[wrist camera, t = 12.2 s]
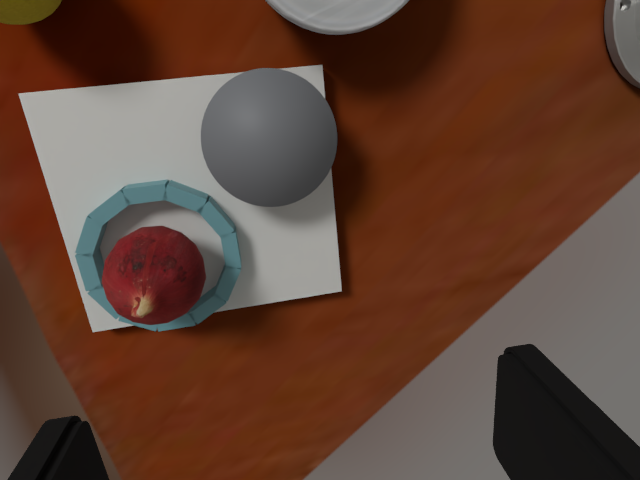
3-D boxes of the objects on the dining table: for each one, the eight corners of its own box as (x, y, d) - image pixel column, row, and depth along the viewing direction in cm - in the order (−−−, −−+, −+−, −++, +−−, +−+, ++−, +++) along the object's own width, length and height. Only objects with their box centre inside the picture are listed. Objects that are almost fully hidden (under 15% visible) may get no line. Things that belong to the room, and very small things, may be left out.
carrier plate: (318, 66, 29) (331, 61, 25) (337, 283, 34) (351, 309, 30) (30, 93, 27) (-10, 93, 22) (99, 321, 32) (77, 356, 28)
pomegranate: (112, 216, 28) (67, 262, 21) (202, 208, 29) (190, 249, 22) (129, 297, 30) (94, 364, 23) (214, 287, 31) (206, 348, 24)
